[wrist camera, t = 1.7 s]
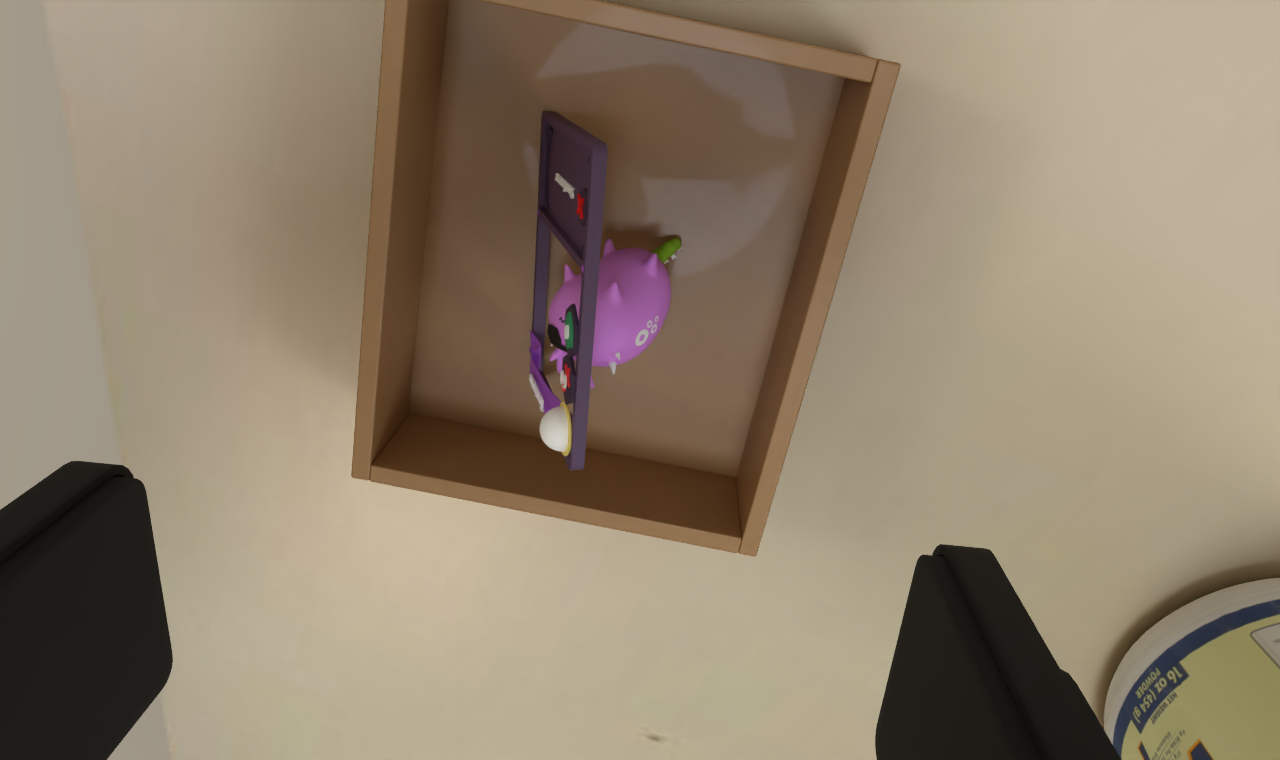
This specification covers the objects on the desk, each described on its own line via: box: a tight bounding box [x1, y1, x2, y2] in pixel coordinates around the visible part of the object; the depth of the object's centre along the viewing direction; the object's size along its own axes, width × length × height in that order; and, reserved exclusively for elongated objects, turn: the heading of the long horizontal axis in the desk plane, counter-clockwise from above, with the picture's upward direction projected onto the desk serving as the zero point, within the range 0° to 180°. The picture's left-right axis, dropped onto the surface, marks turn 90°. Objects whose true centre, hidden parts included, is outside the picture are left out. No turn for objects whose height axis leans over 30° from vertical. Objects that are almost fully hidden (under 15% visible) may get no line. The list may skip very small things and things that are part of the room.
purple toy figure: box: [529, 111, 683, 470], centre depth 26 cm, size 7×5×9 cm
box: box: [351, 0, 901, 556], centre depth 27 cm, size 13×15×4 cm
